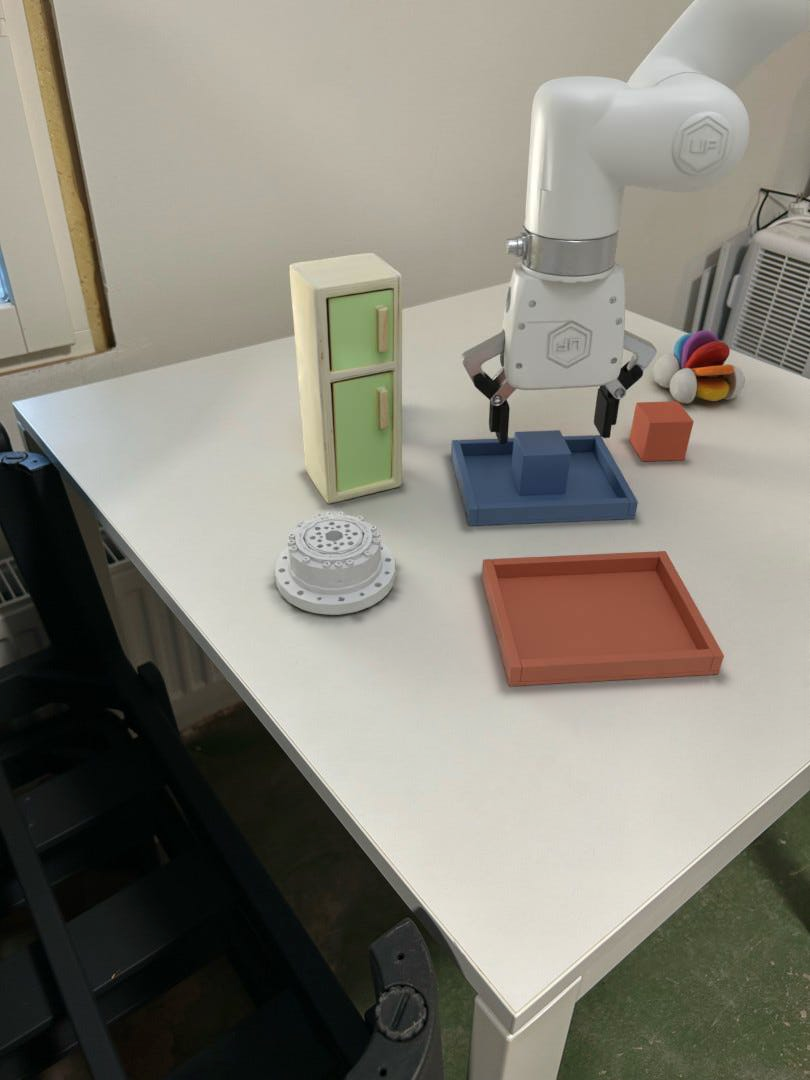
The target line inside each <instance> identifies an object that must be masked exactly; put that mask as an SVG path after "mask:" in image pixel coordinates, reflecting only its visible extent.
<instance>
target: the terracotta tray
mask: <svg viewBox="0 0 810 1080" xmlns="http://www.w3.org/2000/svg"><path fill="white" fill-rule="evenodd" d="M481 567H482V568H481V576H480V577H481V581H482V584H483V589H484V593H485V596H486V600H487V604H488V608H489V612H490V617H491V619H492V624H493V628H494V632H495V635H496V641H497V644H498V648H499V651H500V655H501V659H502V663H503V667H504V671H505V675H506V679H507V684H508V686H509V687H514V686H515V687H516V686H517V687H519V686H535V685H554V684H571V683H588V682H606V681H608V682H609V681H622V680H625V681H626V680H639V679H641V680H642V679H657V678H675V677H694V676H709V675H710V676H712V675H719V674H720V670H721V668H722V664H723V661H724V658H725V655H724V653H723V650H722V649H721V648H720V646H719V644H718V642H717V640H716V639H715V636H714V635H713V633H712V631H711V629H710V628H709V626H708V624H707V622H706V620H705V619H704V617H703V615H702V613H701V612H700V609H699V608H698V606H697V605H696V603H695V601H694V599H693V598H692V597H693V596H691V593H690V592H689V590H688V588H687V587H686V585H685V583H684V581H683V580H682V577H681V575H680V574H679V572H678V571H677V569H676V566H675V565H674V563H673V561H672V560H671V558H670V556H669V554H668V553H667V551H666V550H659V551H658V550H657V551H636V552H614V553H613V552H612V553H593V554H592V553H591V554H590V553H589V554H570V555H569V554H568V555H548V556H547V555H546V556H526V557H525V556H524V557H508V558H507V557H506V558H505V557H504V558H503V557H502V558H493V559H492V558H485V559H482V566H481Z"/></svg>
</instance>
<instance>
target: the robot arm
mask: <svg viewBox="0 0 810 1080" xmlns="http://www.w3.org/2000/svg"><path fill="white" fill-rule="evenodd" d="M809 32H810V0H693V1H692V3H691V4H690V5H689V6H688V7H687V8H686V9H685V10H684V11H683V12H682V14H681V15H680V16H679V17H678V18H677V19H676V21H675V22H674V23H673V24H672V25H671V26H670V28H669V29H667V31H666V32H665V33H664V35H663V36H662V37H661V39H660V40H659V41H657V43H656V45H655V46H654V47H653V48H652V49H651V51H650V52H649V53H648V54H647V55H646V56H645V58H644V59H643V60H642V61H641V63H640V64H639V65H638V67H637V68H636V69H635V70H634V71H633V73H632V74H631V76H630V77H629V79H628V80H627V81H626V82H625V81H623V80H621V79H618V78H613V77H607V76H598V75H597V76H596V75H572V76H564V77H558V78H552V79H550V80H547V81H546V82H544V83H543V84H541V85H540V86H539V88H538V89H537V90H536V92H535V95H534V97H533V100H532V105H531V107H532V109H531V115H530V116H531V118H530V119H531V120H530V134H529V149H528V164H527V165H528V166H527V178H526V179H527V180H526V194H525V195H526V196H525V198H526V199H525V210H524V211H525V212H524V213H525V215H524V225H522V227H521V232H519V236H518V235H517V236H515V237H513V238H506V239H505V256H506V257H507V256H508V257H509V256H515V258H519V259H520V261H518V262H516V263H515V265H514V267H513V271H512V273H511V277H510V280H509V286H508V290H507V295H506V299H505V300H506V301H505V306H504V311H503V312H504V313H503V318H502V319H503V320H502V325H501V326H502V327H501V332H499V333H497V334H495V335H494V336H492V337H490V338H487V339H485V340H484V341H482V342H481V343H479V344H477V345H475V346H473V347H471V348H469V349H467V350H466V351H464V352H463V353H461V354H460V355H461V356H460V359H461V362H462V365H463V367H464V369H465V371H466V373H467V375H468V376H469V378H470V380H471V382H472V384H473V385H474V387H475V388H476V389H477V390H478V391H479V392H480V393H481V394H482V395H483V396H485V397H486V398H487V399H488V400H489V409H488V411H489V412H488V414H489V415H488V428H489V431H490V433H495V436H496V439H498V441H499V444H506V443H507V442H508V438H509V426H510V425H509V424H510V410H511V409H510V404H509V401H508V399H509V398H510V396H511V395H512V394H513V393H514V392H515V391H516V390H521V391H544V390H545V391H546V390H561V389H562V390H563V389H578V388H579V389H580V388H593V387H599V388H597V393H596V399H595V408H594V416H593V425H594V427H595V428H596V431H597V432H598V435H601V437H602V439H610V438H611V432H612V426H615V425H616V424H617V421H618V414H619V408H620V400H621V399H623V398H624V397H625V396H626V395H627V391H628V390H629V389H630V388H631V387H632V386H634V385H635V384H636V383H637V382H638V381H640V379H642V377H643V376H644V371H645V370H646V369H647V368H648V367H649V365H650V363H651V362H652V361H653V360H654V358H655V357H656V355H657V353H658V349H657V348H656V346H654V344H653V343H652V342H650V341H649V340H646V339H644V338H643V337H641V336H638V335H636V334H635V333H632V332H631V331H628V330H626V329H625V327H626V326H625V325H626V281H625V280H626V279H625V270H624V268H623V267H622V266H621V265H620V264H618V263H617V262H616V253H617V246H618V239H619V232H620V223H621V215H622V210H623V209H622V208H623V203H624V194H625V187H626V186H627V187H636V188H643V189H651V190H657V191H662V192H663V191H664V192H669V193H670V192H671V193H690V192H691V193H692V192H693V193H694V192H699V191H702V190H705V189H708V188H711V187H713V186H714V185H717V184H718V183H720V182H721V181H724V180H725V179H726V178H727V177H728V176H730V174H732V172H733V171H734V170H735V169H736V168H737V167H738V165H739V164H740V163H741V161H742V160H743V157H744V156H745V153H746V150H747V149H748V144H749V141H750V134H751V133H750V132H751V131H750V129H751V127H750V119H749V114H748V111H747V109H746V107H745V105H744V103H743V101H742V100H741V98H739V97H740V96H738V94H736V93H735V92H734V91H735V90H736V89H737V88H738V87H739V86H740V85H741V84H742V83H743V82H744V81H745V80H746V78H748V77H749V76H750V75H751V74H752V73H753V72H754V71H755V70H756V69H757V68H758V67H760V66H761V65H762V64H763V63H764V62H765V61H766V60H767V59H769V58H770V57H772V56H773V55H774V54H776V53H777V52H778V51H780V50H781V49H782V48H784V47H785V46H787V45H788V44H790V43H791V42H793V41H794V40H796V39H798V38H800V37H801V36H803V35H805V34H807V33H809ZM624 350H626V351H628V352H630V353H633V354H632V356H631V359H630V360H629V361H626V363H625V364H624V365H622V363H623V356H624ZM497 356H499V362H500V366H501V368H500V369H499V370H498V371H497V372H496V373H495V374H494V376H492V377H491V376H490V375H489V374H487V373H486V372H485V371H484V370H483V367H482V365H483V364H484V363H486V362H487V361H489V360H492V359H494V358H495V357H497Z"/></svg>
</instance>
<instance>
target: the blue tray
mask: <svg viewBox="0 0 810 1080" xmlns="http://www.w3.org/2000/svg"><path fill="white" fill-rule="evenodd" d="M562 436H563V438H564V440H565V442H566V444H567V446H568V448H569V450H570V452H571V459H570V466H569V472H568V479H567V486H566V493H565V494H546V495H521V496H520V495H519V493H518V490H517V487H516V484H515V481H514V479H513V476H512V473H511V464H512V454H513V444H514V437H508V442H507V443H506V444H499V441H498V439H497V438H481V439H480V438H474V439H472V438H471V439H452V440H451V443H450V444H451V445H450V447H451V448H450V457H451V463H452V466H453V469H454V473H455V478H456V481H457V486H458V490H459V493H460V496H461V497H460V498H461V501H462V504H463V509H464V513H465V517H466V521H467V526H468V527H473V526H475V527H476V526H497V525H500V526H501V525H519V524H520V525H521V524H544V523H545V524H547V523H562V522H563V523H565V522H566V523H569V522H591V521H592V522H593V521H615V520H616V521H617V520H634V519H636V513H637V509H638V504H639V501H638V499H637V498H636V496H635V494H634V492H633V490H632V489H631V486H630V485H629V484H628V481H627V480H626V478H625V476H624V474H623V473H622V471H621V469H620V467H619V466H618V463H617V461H616V460H615V458H614V456H613V455H612V452H611V451H610V450H609V448H608V446H607V444H606V443H605V440H604V438H603V437H601V435H600V434H595V435H593V434H590V435H589V434H588V435H562Z"/></svg>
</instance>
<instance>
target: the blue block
mask: <svg viewBox="0 0 810 1080" xmlns="http://www.w3.org/2000/svg"><path fill="white" fill-rule="evenodd" d="M563 436H564V435H563V434H562V432H561V430H559V429H556V430H527V431H526V430H525V431H514V435H513V438H514V444H513V454H512V464H511V473H512V476H513V479H514V481H515V484H516V487H517V490H518V493H519V495H520V496H521V495H546V494H565V493H566V486H567V479H568V472H569V466H570V459H571V452H570V450H569V448H568V446H567V444H566V442H565V440H564V438H563Z"/></svg>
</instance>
